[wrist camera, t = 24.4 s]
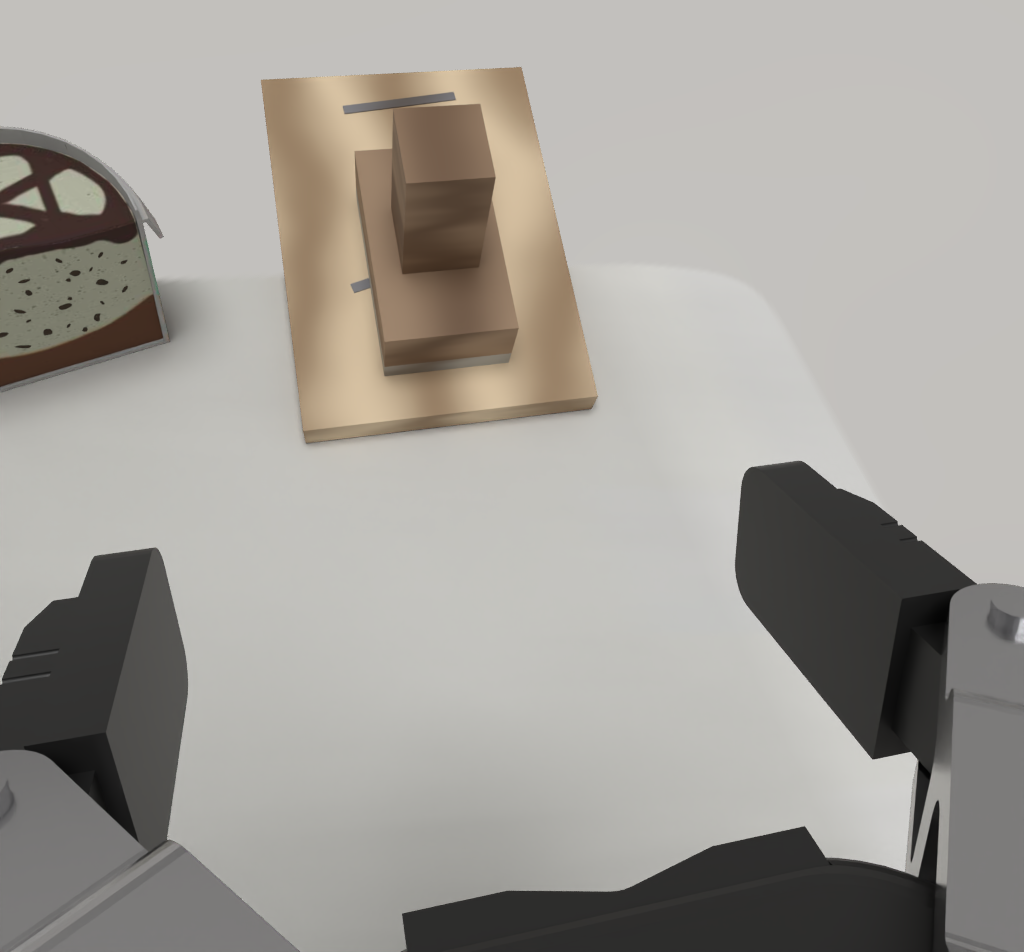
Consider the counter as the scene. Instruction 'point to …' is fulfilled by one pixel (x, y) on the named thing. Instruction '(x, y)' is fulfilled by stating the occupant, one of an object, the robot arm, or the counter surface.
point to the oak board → (344, 274)
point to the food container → (70, 261)
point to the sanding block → (435, 243)
